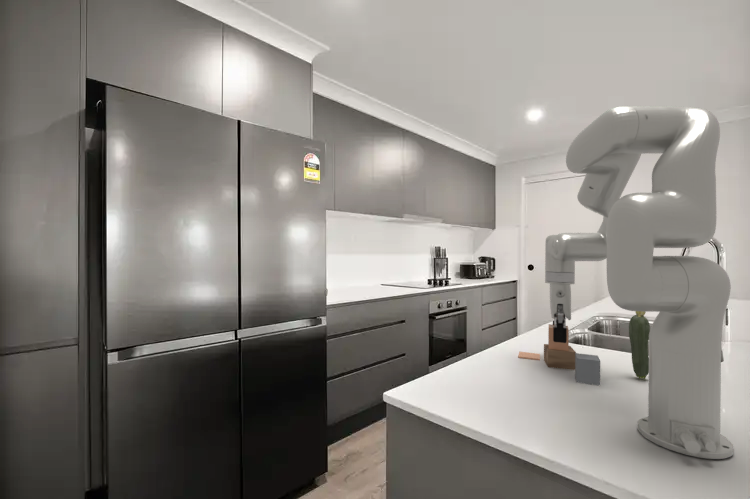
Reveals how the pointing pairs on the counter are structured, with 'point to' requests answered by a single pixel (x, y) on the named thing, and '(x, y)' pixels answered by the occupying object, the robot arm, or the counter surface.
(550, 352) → the base block
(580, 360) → the slate cube
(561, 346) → the terracotta cube
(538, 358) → the tile
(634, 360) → the vegetable
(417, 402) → the counter surface
